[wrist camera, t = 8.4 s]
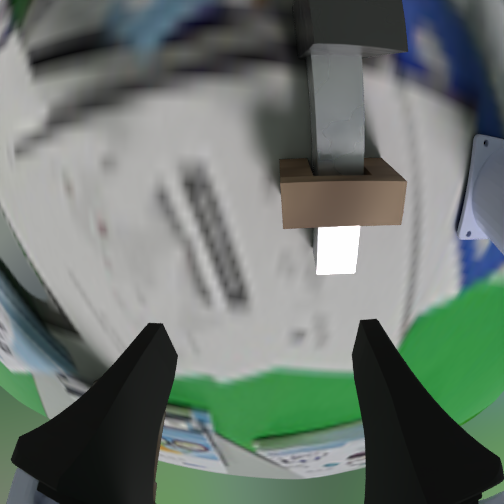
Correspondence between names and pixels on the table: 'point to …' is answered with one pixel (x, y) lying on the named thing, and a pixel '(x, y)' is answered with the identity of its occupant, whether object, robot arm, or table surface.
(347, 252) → the rod
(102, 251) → the table surface
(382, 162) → the tan rectangular collar
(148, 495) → the robot arm
